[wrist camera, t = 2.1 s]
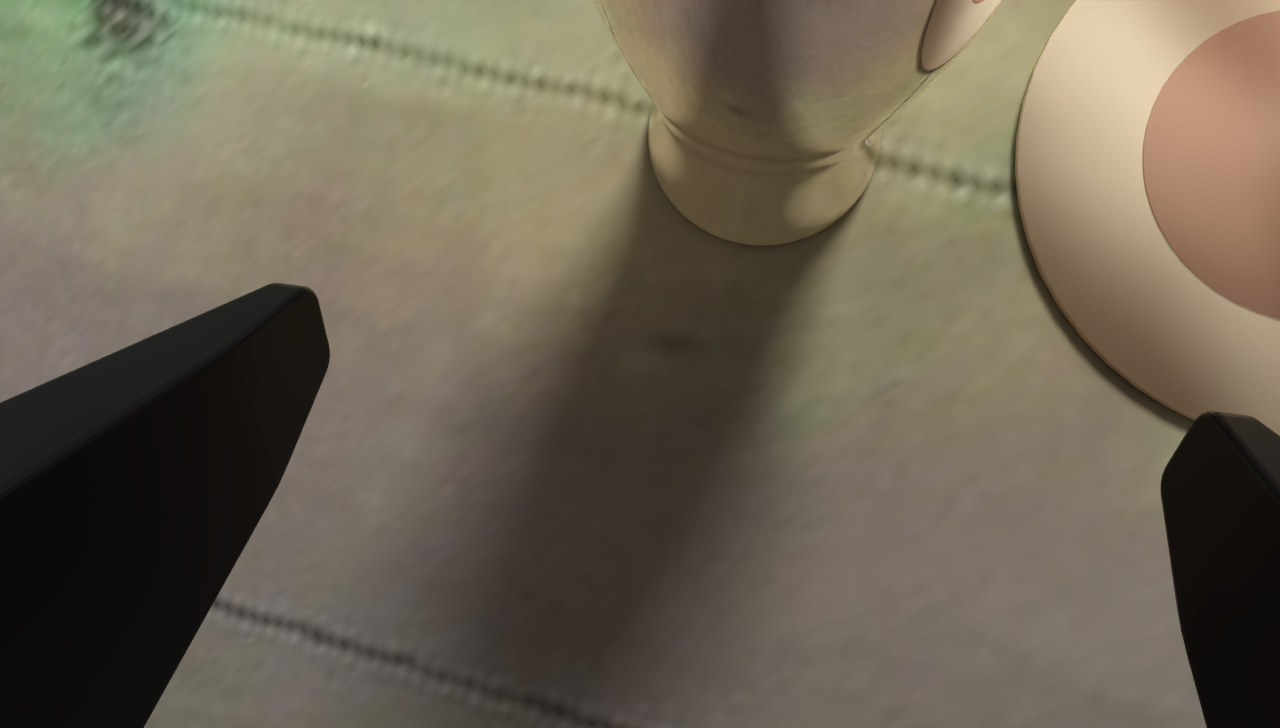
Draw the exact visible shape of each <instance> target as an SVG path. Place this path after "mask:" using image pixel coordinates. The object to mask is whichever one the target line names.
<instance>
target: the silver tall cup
mask: <svg viewBox="0 0 1280 728" xmlns="http://www.w3.org/2000/svg"><path fill="white" fill-rule="evenodd" d="M1002 1H1003V0H593V2H594V4H595V6H596V8H597V10H598V12H599V14H600V16H601V18H602V20H603V21H604V23H605V25H606V27H607V29H608V31H609V33H610V35H611V37H612V39H613V40H614V42H615V44H616V46H617V48H618V50H619V51H620V53H621V55H622V57H623V58H624V60H625V61H626V63H627V65H628V66H629V68H630V69H631V70H632V72H633V73H634V75H635V76H636V78H637V79H638V81H639V82H640V84H641V85H642V87H643V88H644V90H645V91H646V93H647V94H648V95H649V97H650V98H651V100H652V101H653V103H652V108H651V112H650V118H649V128H648V144H649V153H650V158H651V163H652V166H653V169H654V172H655V175H656V177H657V180H658V182H659V184H660V186H661V188H662V189H663V191H664V193H665V194H666V196H667V197H668V199H669V200H670V201H671V203H672V204H673V205H674V206H675V207H676V208H677V209H678V211H679V212H680V213H681V214H683V215H684V216H685V217H686V218H687V219H688V220H690V221H691V222H692V223H694V224H695V225H696V226H698V227H699V228H701V229H703V230H704V231H706V232H708V233H710V234H712V235H714V236H717V237H719V238H722V239H725V240H728V241H731V242H735V243H740V244H746V245H756V246H769V245H779V244H785V243H790V242H794V241H797V240H800V239H803V238H806V237H809V236H811V235H813V234H815V233H818V232H820V231H821V230H823V229H825V228H827V227H828V226H830V225H831V224H833V223H834V222H835V221H837V220H838V219H839V218H840V217H842V216H843V215H844V214H845V213H846V212H847V211H848V210H849V209H850V208H851V207H852V206H853V205H854V204H855V203H856V201H857V200H858V199H859V197H860V196H861V195H862V193H863V192H864V190H865V188H866V187H867V185H868V183H869V181H870V179H871V177H872V175H873V172H874V170H875V167H876V164H877V161H878V157H879V153H880V148H881V142H882V131H883V126H884V125H885V124H887V123H888V122H889V121H890V120H892V119H893V118H894V117H895V116H896V115H898V114H899V113H900V112H901V111H902V110H903V109H904V108H906V107H907V106H908V105H909V104H910V103H911V102H913V101H914V100H915V99H916V98H917V97H918V96H920V95H921V94H922V93H923V92H924V91H925V90H926V89H927V88H929V87H930V86H931V85H932V84H933V83H934V82H935V81H936V79H937V78H938V77H939V76H940V75H941V74H942V73H943V72H944V71H945V70H946V69H947V68H948V67H949V66H950V65H951V64H952V63H953V62H954V61H955V60H956V59H957V57H958V56H959V55H960V54H961V53H962V52H963V51H964V50H965V49H966V48H967V47H968V46H969V45H970V44H971V42H972V41H973V40H974V39H975V38H976V37H977V35H978V34H979V33H980V32H981V30H982V29H983V28H984V26H985V25H986V23H987V22H988V21H989V19H990V18H991V16H992V15H993V13H994V12H995V11H996V9H997V8H998V6H999V5H1000V3H1001V2H1002Z"/></svg>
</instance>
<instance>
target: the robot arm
mask: <svg viewBox="0 0 1280 728" xmlns="http://www.w3.org/2000/svg"><path fill="white" fill-rule="evenodd" d="M329 358H330V349H329V343H328V339H327V335H326V331H325V327H324V322H323V318H322V314H321V310H320V306H319V301H318V299H317V296H316V294H315V293H314V291H313V290H311V289H310V288H308V287H305V286H298V285H291V284H284V283H272V284H269V285H267V286H264V287H262V288H260V289H257V290H255V291H253V292H251V293H248V294H246V295H244V296H242V297H239V298H237V299H235V300H232V301H230V302H228V303H226V304H223V305H221V306H219V307H217V308H214V309H212V310H210V311H208V312H205V313H203V314H201V315H198V316H196V317H194V318H192V319H189V320H187V321H185V322H183V323H180V324H178V325H176V326H173V327H171V328H169V329H167V330H164V331H162V332H160V333H158V334H155V335H153V336H151V337H148V338H146V339H144V340H142V341H139V342H137V343H135V344H133V345H130V346H128V347H126V348H124V349H121V350H119V351H117V352H114V353H112V354H110V355H108V356H105V357H103V358H101V359H99V360H96V361H94V362H92V363H89V364H87V365H85V366H83V367H80V368H78V369H76V370H74V371H71V372H69V373H67V374H65V375H62V376H60V377H58V378H55V379H53V380H51V381H49V382H46V383H44V384H42V385H40V386H37V387H35V388H33V389H30V390H28V391H26V392H24V393H21V394H19V395H17V396H15V397H12V398H10V399H8V400H5V401H3V402H1V403H0V728H144V726H145V724H146V723H147V721H148V719H149V717H150V715H151V714H152V712H153V710H154V708H155V706H156V705H157V703H158V701H159V699H160V697H161V696H162V694H163V692H164V690H165V688H166V687H167V685H168V683H169V681H170V680H171V678H172V676H173V674H174V672H175V671H176V669H177V667H178V665H179V663H180V662H181V660H182V658H183V656H184V654H185V653H186V651H187V649H188V647H189V646H190V644H191V642H192V640H193V638H194V637H195V635H196V633H197V631H198V629H199V628H200V626H201V624H202V622H203V620H204V619H205V617H206V615H207V613H208V612H209V610H210V608H211V606H212V604H213V603H214V601H215V599H216V597H217V595H218V594H219V592H220V590H221V588H222V586H223V585H224V583H225V581H226V579H227V577H228V576H229V574H230V572H231V570H232V569H233V567H234V565H235V563H236V561H237V560H238V558H239V556H240V554H241V552H242V551H243V549H244V547H245V545H246V543H247V542H248V540H249V538H250V536H251V535H252V533H253V531H254V529H255V527H256V526H257V524H258V522H259V520H260V518H261V517H262V515H263V513H264V511H265V509H266V508H267V506H268V504H269V502H270V500H271V498H272V497H273V495H274V493H275V491H276V489H277V487H278V485H279V483H280V481H281V479H282V476H283V474H284V472H285V470H286V468H287V465H288V463H289V461H290V458H291V456H292V453H293V451H294V449H295V446H296V444H297V441H298V439H299V436H300V434H301V432H302V429H303V427H304V424H305V422H306V420H307V417H308V415H309V412H310V410H311V408H312V405H313V403H314V400H315V398H316V395H317V393H318V391H319V388H320V386H321V383H322V381H323V379H324V376H325V374H326V371H327V368H328V364H329ZM1161 498H1162V505H1163V512H1164V519H1165V526H1166V533H1167V540H1168V547H1169V554H1170V561H1171V569H1172V576H1173V583H1174V590H1175V597H1176V604H1177V610H1178V615H1179V621H1180V627H1181V632H1182V636H1183V640H1184V644H1185V648H1186V652H1187V656H1188V660H1189V664H1190V667H1191V671H1192V675H1193V678H1194V682H1195V686H1196V689H1197V693H1198V697H1199V700H1200V704H1201V708H1202V712H1203V715H1204V719H1205V723H1206V726H1207V728H1280V436H1279V435H1278V434H1277V433H1275V432H1274V431H1273V430H1271V429H1270V428H1268V427H1267V426H1266V425H1264V424H1263V423H1262V422H1260V421H1259V420H1257V419H1256V418H1254V417H1251V416H1248V415H1242V414H1235V413H1227V412H1220V411H1207V412H1204V413H1202V414H1201V415H1199V416H1198V417H1197V418H1196V419H1195V421H1194V422H1193V423H1192V425H1191V427H1190V428H1189V430H1188V431H1187V433H1186V435H1185V436H1184V438H1183V439H1182V441H1181V443H1180V444H1179V446H1178V448H1177V449H1176V451H1175V452H1174V454H1173V456H1172V457H1171V459H1170V460H1169V462H1168V464H1167V465H1166V467H1165V469H1164V472H1163V475H1162V479H1161Z"/></svg>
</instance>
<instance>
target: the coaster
mask: <svg viewBox="0 0 1280 728" xmlns="http://www.w3.org/2000/svg"><path fill="white" fill-rule="evenodd" d="M1015 180H1016V190H1017V200H1018V207H1019V212H1020V216H1021V220H1022V224H1023V228H1024V232H1025V237H1026V240H1027V243H1028V246H1029V248H1030V251H1031V253H1032V256H1033V258H1034V261H1035V264H1036V266H1037V269H1038V271H1039V274H1040V276H1041V277H1042V279H1043V281H1044V283H1045V285H1046V286H1047V288H1048V290H1049V292H1050V294H1051V295H1052V297H1053V299H1054V301H1055V303H1056V305H1057V306H1058V307H1059V309H1060V310H1061V312H1062V313H1063V314H1064V316H1065V317H1066V318H1067V320H1068V321H1069V322H1070V324H1071V325H1072V327H1073V328H1074V329H1075V331H1076V332H1077V333H1078V335H1079V336H1080V337H1081V338H1082V339H1083V340H1084V341H1085V342H1086V343H1087V344H1088V345H1089V346H1090V347H1091V349H1092V350H1093V351H1094V352H1095V353H1096V354H1097V355H1098V356H1099V357H1100V358H1101V359H1102V360H1103V361H1104V362H1105V363H1106V364H1107V365H1108V366H1110V367H1111V368H1112V369H1113V370H1114V371H1116V372H1117V373H1118V374H1119V375H1121V376H1122V377H1123V378H1124V379H1126V380H1127V381H1128V382H1129V383H1130V384H1132V385H1133V386H1134V387H1135V388H1137V389H1138V390H1140V391H1142V392H1143V393H1145V394H1146V395H1148V396H1150V397H1151V398H1153V399H1154V400H1156V401H1158V402H1159V403H1161V404H1162V405H1164V406H1165V407H1167V408H1169V409H1171V410H1173V411H1175V412H1177V413H1179V414H1181V415H1183V416H1186V417H1188V418H1190V419H1192V420H1194V421H1195V419H1196V418H1197V417H1198V416H1199V415H1201V414H1202V413H1204V412H1207V411H1220V412H1227V413H1235V414H1242V415H1248V416H1251V417H1254V418H1256V419H1257V420H1259V421H1260V422H1262V423H1263V424H1264V425H1266V426H1267V427H1268V428H1270V429H1271V430H1273V431H1274V432H1275V433H1277V434H1278V435H1279V436H1280V0H1077V1H1076V2H1075V3H1074V4H1073V5H1072V6H1071V8H1070V9H1069V10H1068V12H1067V13H1066V14H1065V16H1064V17H1063V19H1062V20H1061V22H1060V23H1059V25H1058V26H1057V28H1056V29H1055V31H1054V32H1053V34H1052V35H1051V36H1050V38H1049V39H1048V41H1047V43H1046V45H1045V47H1044V49H1043V51H1042V53H1041V55H1040V57H1039V59H1038V61H1037V63H1036V65H1035V67H1034V69H1033V72H1032V75H1031V78H1030V81H1029V84H1028V87H1027V90H1026V93H1025V96H1024V99H1023V102H1022V107H1021V112H1020V118H1019V123H1018V128H1017V134H1016V150H1015Z"/></svg>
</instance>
